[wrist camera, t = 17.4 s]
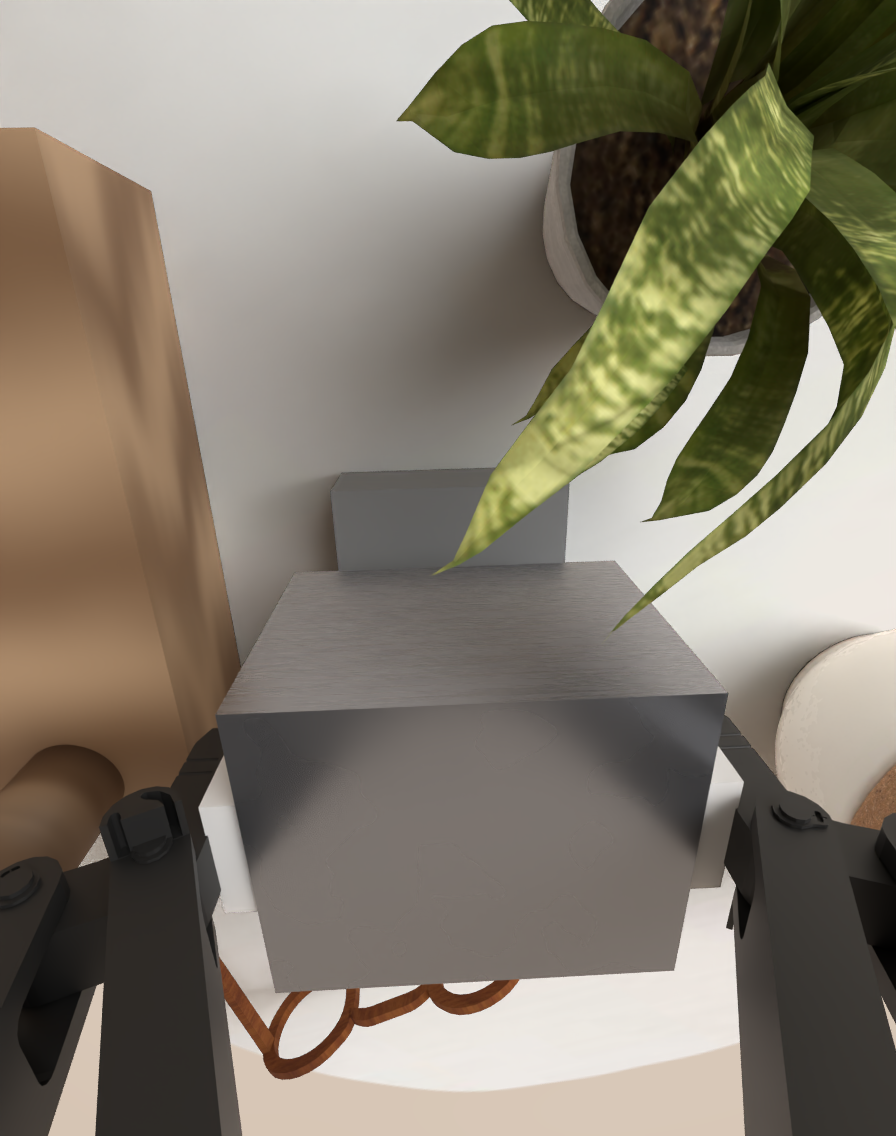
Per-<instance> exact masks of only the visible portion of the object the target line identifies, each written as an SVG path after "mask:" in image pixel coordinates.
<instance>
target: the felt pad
mask: <svg viewBox="0 0 896 1136" xmlns="http://www.w3.org/2000/svg"><path fill="white" fill-rule="evenodd" d="M494 470H495V468H476V469H445V470H413V471H382V472H350V473H341V475H340V477H339V478H338V480H337V481H336V483H335V485H334V486H333V488H332V489H331V491H330V494H331V504H332V513H333V523H334V532H335V542H336V552H337V561H338V571H346V570H374V569H401V568H429V567H444V566H446V565H447V564H449V563H450V562H452V561H453V560H454V558H455V556H456V553H457V551H458V549H459V547H460V545H461V543H462V541H463V539H464V537H465V534H466V532H467V530H468V527H469V525H470V523H471V520H472V518H473V515H474V513H475V511H476V508H477V506H478V503H479V501H480V499H481V496H482V494H483V492H484V489H485V487H486V484H487V482H488V480H489V477H490V475H491V474H492V472H493V471H494ZM568 498H569V483H568V484H567V485H565V486H564V487H563V488H562V489H560V490H559V491H558V492H556V493H555V494H554V495H552V496H551V497H550V498H548V499H547V500H546V501H545V502H543V503H542V504H541V505H539V506H538V507H537V508H535V509H534V510H533V511H531V512H530V513H529V514H528V515H526V516H525V517H524V518H523V519H521V520H520V521H519V522H518V523H516V524H515V525H514V526H513V527H511V528H510V529H509V530H508V531H507V532H505V533H504V534H503V535H502V536H500V537H499V538H498V539H497V540H495V541H494V542H493V543H492V544H490V545H489V546H488V547H487V548H485V549H484V550H483V551H482V552H480V553H478V554H477V555H475V556H473V557H472V558H470V559H468V560H466V561H465V562H463V563H461V564H459V565H457V566H484V565H511V564H539V563H565V550H566V532H567V515H568ZM455 567H456V566H455Z"/></svg>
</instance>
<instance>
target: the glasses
mask: <svg viewBox="0 0 896 1136" xmlns="http://www.w3.org/2000/svg"><path fill="white" fill-rule="evenodd" d="M219 961H220V969H221V976H222V984H223V992H224V998H225V1000H226V1001H227V1003H228V1004H229V1006H230V1007H231V1009H232V1010H233V1011H234V1013H235V1014H236V1016H237V1017H238V1019H239V1020H240V1022H241V1023H242V1024H243V1026H244V1027H245V1029H246V1030H247V1032H248V1033H249V1035H250V1036H251V1038H252V1039H253V1040H254V1042H255V1043H256V1045H257V1046H258V1048H259V1049H260V1051H261V1052H262V1054H263V1060H264V1063H265V1066H266V1068H267V1069H268V1071H269V1072H270V1073H271V1074H272V1075H273V1076H274V1077H275V1078H278V1079H282V1080H283V1079H293V1078H297V1077H300V1076H302V1075H304V1074H306V1073H309V1072H310V1071H312V1070H314V1069H315V1068H317V1067H318V1066H320V1065H321V1064H322V1063H323V1062H325V1061H326V1060H327V1059H328V1058H329V1057H330V1056H331V1055H332V1054H333V1053H334V1052H335V1051H336V1050H337V1049H338V1048H339V1047H340V1046H341V1044H342V1043H343V1042H344V1041H345V1040H346V1038H347V1037H348V1036H349V1034H350V1033H351V1031H352V1028H353V1026H354V1024H356V1025H359V1026H362V1027H369V1026H373V1025H376V1024H379V1023H382V1022H384V1021H387V1020H390V1019H393V1018H395V1017H398V1016H401V1015H403V1014H406V1013H409V1012H411V1011H413V1010H415V1009H416V1008H418V1007H419V1006H420V1005H422V1004H423V1003H424V1002H425V1001H426V1000H427V999H428V998H429V997H430V998H431V999H432V1001H433V1003H434V1004H435V1005H436V1006H437V1007H439V1008H441V1009H442V1010H444V1011H446V1012H448V1013H451V1014H456V1015H465V1014H472V1013H476V1012H479V1011H482V1010H484V1009H486V1008H488V1007H491V1006H492V1005H494V1004H495V1003H497V1002H498V1001H500V1000H501V999H503V998H504V997H505V996H506V995H507V994H508V993H509V992H510V991H511V990H512V989H513V988H514V986H515V985H516V984H517V983H518V981H519V979H514V980H496V981H494V982H493V983H491V984H490V985H488V986H487V987H485V988H483V989H481V990H479V991H477V992H474V993H470V994H463V995H458V994H453V993H451V992H449V991H447V990H446V989H445V988H444V986H443V984H425V985H420V986H419V987H417V988H416V989H414V990H412V991H410V992H408V993H406V994H403V995H400V996H398V997H395V998H392V999H390V1000H387V1001H384V1002H382V1003H379V1004H376V1005H374V1006H371V1007H367V1008H358V1007H359V995H360V988H354V989H346V1000H345V1006H344V1009H343V1012H342V1015H341V1017H340V1019H339V1021H338V1023H337V1025H336V1026H335V1028H334V1029H333V1030H332V1032H331V1033H330V1034H329V1035H328V1036H327V1037H326V1038H325V1040H324V1041H323V1042H322V1043H320V1044H319V1045H318V1046H317V1047H316V1048H314V1049H313V1050H311V1051H310V1052H308V1053H307V1054H304V1055H302V1056H300V1057H297V1058H293V1059H283V1058H280V1057H279V1053H278V1047H279V1040H280V1037H281V1033H282V1030H283V1028H284V1025H285V1023H286V1021H287V1020H288V1018H289V1016H290V1014H291V1013H292V1011H293V1010H294V1008H295V1007H296V1006H297V1005H298V1003H299V1002H300V1001H301V1000H302V999H303V998H304V997H305V996H307V995H308V994H309V993H310V992H312V991H300V992H291V993H290V994H289V995H288V997H287V998H286V999H285V1000H284V1002H283V1003H282V1005H281V1006H280V1008H279V1009H278V1011H277V1013H276V1014H275V1016H274V1018H273V1020H272V1022H271V1025H270V1027H269V1029H268V1028H267V1027H266V1025H265V1024H264V1022H263V1021H262V1019H261V1018H260V1016H259V1015H258V1013H257V1012H256V1010H255V1009H254V1007H253V1006H252V1004H251V1003H250V1002H249V1000H248V999H247V997H246V996H245V994H244V993H243V991H242V990H241V988H240V987H239V985H238V984H237V982H236V981H235V979H234V978H233V976H232V975H231V974H230V972H229V971H228V969H227V968H226V966H225V965H224V963H223V962H222V960H221V959H220V957H219Z"/></svg>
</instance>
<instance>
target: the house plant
mask: <svg viewBox="0 0 896 1136" xmlns="http://www.w3.org/2000/svg"><path fill="white" fill-rule="evenodd" d="M510 2H511V3H512V4H513V5H514V6H515V7H516V8H517V9H518V10H519V11H520V13H521V14H522V15H523V16H524V17H525V18H526V19H527V20H528V21H523V22H516V23H508V24H501V25H493V26H491V27H489V28H488V29H486V30H484V31H483V32H481V33H480V34H478V35H477V36H475V37H473V38H472V39H470V40H469V41H467V42H466V43H464V44H462V45H461V46H460V47H459V48H458V49H457V50H456V52H455V53H454V54H453V55H452V56H451V57H450V58H449V59H448V60H447V61H446V62H445V63H444V64H443V65H442V66H441V67H440V68H439V69H438V71H437V72H436V73H435V74H434V75H433V76H432V78H431V79H430V80H429V81H428V83H427V84H426V85H425V86H424V88H423V89H422V90H421V92H420V93H419V94H418V95H417V97H416V98H415V99H414V101H413V102H412V103H411V104H410V106H409V107H408V108H407V109H406V110H405V111H404V113H403V114H402V115H401V116H400V117H399V118H398V120H397V121H413V122H414V123H416V124H417V125H418V126H420V127H421V128H422V129H424V130H425V131H426V132H428V133H429V134H431V135H432V136H433V137H435V138H436V139H437V140H439V141H440V142H441V143H443V144H444V145H445V146H447V147H448V148H450V149H451V150H452V151H454V152H456V153H462V154H467V155H472V156H477V157H482V158H487V159H497V158H522V157H527V156H532V155H537V154H541V153H546V152H551V151H554V154H553V159H552V165H551V171H550V176H549V182H548V187H547V193H546V199H545V204H544V215H543V240H544V245H545V251H546V256H547V261H548V263H549V265H550V267H551V269H552V272H553V274H554V276H555V278H556V280H557V282H558V284H559V285H560V286H561V287H562V288H563V290H564V291H565V292H566V293H567V294H568V296H569V297H570V298H571V299H572V300H573V301H575V302H576V303H578V304H579V305H581V306H582V307H584V308H585V309H587V310H588V311H590V312H591V313H593V314H595V315H597V318H596V320H595V322H594V324H593V325H592V326H591V327H590V328H589V329H588V330H587V331H586V333H585V334H584V335H583V336H582V337H581V338H580V339H579V340H578V341H577V342H576V343H575V344H574V345H573V346H572V347H571V349H570V350H569V351H568V352H567V353H566V354H565V355H564V356H563V357H562V359H561V360H560V361H559V362H558V363H557V364H556V365H555V366H554V367H553V369H552V370H551V372H550V374H549V376H548V378H547V380H546V381H545V383H544V385H543V387H542V389H541V391H540V393H539V394H538V396H537V398H536V400H535V402H534V404H533V405H532V407H531V408H530V410H529V412H528V413H527V415H526V416H525V417H523V418H522V419H520V420H519V421H517V422H516V423H519V422H521V421H524V420H526V419H529V418H531V417H533V416H534V415H535V416H534V417H533V419H532V420H531V421H530V423H529V424H528V425H527V427H526V428H525V429H524V431H523V432H522V433H521V435H520V436H519V437H518V439H517V440H516V441H515V443H514V444H513V445H512V447H511V448H510V450H509V451H508V452H507V454H506V455H505V456H504V458H503V459H502V460H501V462H500V463H499V464H498V466H497V467H496V468H495V470H494V471H493V472H492V474H491V475H490V477H489V480H488V482H487V484H486V487H485V489H484V492H483V494H482V496H481V499H480V501H479V503H478V506H477V508H476V511H475V513H474V515H473V518H472V520H471V523H470V525H469V527H468V530H467V532H466V534H465V537H464V539H463V541H462V543H461V545H460V547H459V549H458V551H457V553H456V556H455V558H454V560H453V561H452V562H450V563H449V564H447V565H446V566H444V567H443V568H441V569H440V570H439V571H437V572H436V573H434V574H433V575H435V574H437V573H440V572H442V571H445V570H447V569H450V568H452V567H455V566H457V565H459V564H461V563H463V562H465V561H466V560H468V559H470V558H472V557H473V556H475V555H477V554H478V553H480V552H482V551H483V550H484V549H485V548H487V547H488V546H489V545H490V544H492V543H493V542H494V541H495V540H497V539H498V538H499V537H500V536H502V535H503V534H504V533H505V532H507V531H508V530H509V529H510V528H511V527H513V526H514V525H515V524H516V523H518V522H519V521H520V520H521V519H523V518H524V517H525V516H526V515H528V514H529V513H530V512H531V511H533V510H534V509H535V508H537V507H538V506H539V505H541V504H542V503H543V502H545V501H546V500H547V499H548V498H550V497H551V496H552V495H554V494H555V493H556V492H558V491H559V490H560V489H562V488H563V487H564V486H565V485H567V484H568V483H569V482H571V481H572V480H573V479H575V478H576V477H577V476H578V475H580V474H581V473H583V472H584V471H586V470H588V469H589V468H591V467H593V466H594V465H596V464H598V463H599V462H601V461H602V460H603V459H604V458H606V457H607V456H608V455H609V454H614V453H619V452H623V451H628V450H633V449H635V448H637V447H638V446H639V445H641V444H642V443H643V442H645V441H646V440H647V439H649V438H650V437H651V436H653V435H654V434H655V433H657V432H658V431H659V430H661V429H662V428H663V427H664V426H665V425H666V424H667V423H668V421H669V420H670V419H671V418H672V417H673V415H674V414H675V413H676V412H677V411H678V409H679V408H680V407H681V406H682V405H683V403H684V402H685V401H686V399H687V397H688V395H689V393H690V391H691V389H692V387H693V385H694V383H695V381H696V379H697V377H698V375H699V373H700V371H701V369H702V366H703V362H704V359H705V356H733V355H737V354H740V353H741V355H740V357H739V360H738V362H737V364H736V367H735V369H734V371H733V373H732V376H731V378H730V379H729V381H728V382H727V384H726V385H725V387H724V389H723V390H722V392H721V393H720V395H719V396H718V398H717V399H716V401H715V402H714V404H713V405H712V407H711V408H710V410H709V411H708V413H707V414H706V416H705V417H704V418H703V420H702V421H701V423H700V424H699V426H698V427H697V429H696V430H695V431H694V433H693V434H692V436H691V437H690V439H689V441H688V442H687V444H686V445H685V447H684V448H683V450H682V451H681V453H680V454H679V456H678V457H677V459H676V461H675V464H674V466H673V468H672V470H671V473H670V475H669V477H668V479H667V483H666V486H665V490H664V494H663V497H662V501H661V503H660V505H659V506H658V508H657V510H656V511H655V513H654V515H653V517H652V518H650V519H648V520H645V521H642V522H647V521H656V520H663V519H668V518H673V517H679V516H684V515H689V514H694V513H700V512H705V511H709V510H711V509H713V508H714V507H716V506H718V505H719V504H721V503H723V502H725V501H726V500H728V499H730V498H731V497H733V496H735V495H736V494H737V493H739V492H740V491H741V490H742V489H743V488H744V487H745V486H746V485H747V484H748V483H749V482H750V481H752V480H753V479H754V478H755V477H756V476H757V475H758V473H759V472H760V470H761V469H762V467H763V466H764V464H765V463H766V461H767V460H768V458H769V456H770V455H771V453H772V452H773V450H774V447H775V445H776V443H777V440H778V438H779V436H780V433H781V431H782V428H783V426H784V423H785V421H786V418H787V415H788V413H789V410H790V407H791V405H792V402H793V399H794V397H795V394H796V391H797V388H798V384H799V381H800V378H801V374H802V371H803V368H804V364H805V361H806V357H807V354H808V343H809V324H810V323H812V322H814V321H816V320H817V319H819V318H820V317H821V316H823V318H824V319H825V321H826V323H827V325H828V327H829V329H830V331H831V334H832V336H833V339H834V341H835V344H836V346H837V349H838V351H839V354H840V356H841V359H842V361H843V364H844V368H843V374H842V380H841V385H840V391H839V397H838V403H837V407H836V409H835V411H834V413H833V416H832V418H831V420H830V422H829V424H828V425H827V426H826V427H825V428H824V429H823V430H822V431H821V432H820V433H819V434H818V435H817V436H816V437H815V438H814V439H813V440H812V441H810V442H809V443H808V444H807V445H806V446H805V447H804V448H803V449H802V450H801V451H800V452H799V453H798V454H797V455H796V456H795V457H794V458H793V459H792V460H791V461H790V462H789V463H788V464H787V465H786V466H785V467H784V468H783V469H782V470H781V471H780V472H779V473H778V474H777V475H776V476H775V477H774V478H773V479H772V480H770V481H769V482H768V483H767V484H766V485H765V486H764V487H763V488H761V489H760V490H759V491H758V492H757V493H756V494H755V495H753V496H752V497H751V498H750V499H749V500H748V501H747V502H745V503H744V504H743V505H742V506H741V507H740V508H739V509H738V510H736V511H735V512H734V513H733V514H732V515H731V516H730V517H728V518H727V519H726V520H725V521H724V522H723V523H721V524H720V525H719V526H718V527H717V528H716V529H715V530H713V531H712V532H711V533H710V534H709V535H708V536H707V537H705V538H704V539H703V540H702V541H701V542H700V543H698V544H697V545H696V546H695V547H694V548H693V549H692V550H690V551H689V552H688V553H687V554H686V555H685V556H684V557H683V558H682V559H681V560H680V561H679V562H678V563H677V564H676V565H675V566H674V567H673V568H672V569H671V570H670V571H669V572H667V573H666V574H665V575H664V576H663V577H662V578H661V579H660V580H659V581H658V582H657V583H656V584H655V585H654V586H653V587H652V588H651V589H650V590H649V591H648V592H647V593H646V594H645V595H644V596H643V597H642V598H641V599H640V600H639V601H638V602H637V603H636V604H635V606H634V607H633V608H632V609H631V610H630V611H629V612H628V613H627V614H626V615H625V616H624V617H623V618H622V619H621V621H620V622H619V623H618V624H617V625H616V626H615V628H614V629H613V630H612V631H615V630H616V629H618V628H619V627H620V626H621V625H623V624H624V623H625V622H626V621H628V620H629V619H630V618H631V617H633V616H634V615H635V614H637V613H638V612H639V611H641V610H642V609H643V608H645V607H646V606H647V605H649V604H650V603H651V602H652V601H654V600H655V599H656V598H658V597H659V596H660V595H662V594H663V593H664V592H666V591H667V590H668V589H669V588H671V587H672V586H673V585H674V584H676V583H677V582H678V581H680V580H681V579H682V578H683V577H685V576H686V575H687V574H688V573H690V572H691V571H692V570H694V569H695V568H696V567H697V566H699V565H700V564H702V563H704V562H705V561H707V560H708V559H710V558H712V557H713V556H715V555H716V554H718V553H720V552H721V551H723V550H724V549H726V548H728V547H729V546H731V545H732V544H734V543H736V542H737V541H739V540H740V539H742V538H744V537H745V536H747V535H748V534H749V533H750V532H751V531H753V530H754V529H755V528H756V527H758V526H759V525H760V524H761V523H762V522H764V521H765V520H766V519H767V518H769V517H770V516H771V515H772V514H773V513H775V512H776V511H777V510H778V509H780V508H781V507H782V506H783V505H784V504H785V503H786V502H787V501H788V500H789V499H790V498H791V497H792V496H793V495H794V494H795V493H796V492H797V491H798V490H799V489H800V488H801V487H802V486H803V485H804V484H806V483H807V482H808V481H809V480H810V479H811V478H812V477H813V476H814V475H815V474H816V473H817V472H818V471H819V470H820V469H821V468H822V467H823V466H824V465H825V464H826V463H827V462H828V460H829V459H830V458H831V456H832V455H833V454H834V452H835V451H836V450H837V448H838V447H839V446H840V444H841V443H842V442H843V441H844V439H845V438H846V437H847V435H848V434H849V433H850V431H851V430H852V429H853V427H854V426H855V425H856V423H857V422H858V421H859V419H860V418H861V417H862V415H863V413H864V411H865V408H866V406H867V404H868V402H869V400H870V398H871V396H872V394H873V392H874V390H875V388H876V385H877V383H878V381H879V379H880V377H881V375H882V373H883V371H884V369H885V366H886V362H887V358H888V354H889V350H890V345H891V341H892V337H893V333H894V329H896V0H610V1H609V2H608V3H607V4H606V6H605V7H604V9H603V11H602V13H601V12H600V11H599V10H598V9H597V8H596V7H595V5H594V4H593V3H592V2H591V1H590V0H510ZM516 423H514V424H516ZM514 424H512V425H514ZM431 576H432V575H431ZM612 631H611V633H612ZM611 633H610V634H611ZM610 634H609V635H610ZM609 635H608V636H609ZM607 638H608V637H607ZM607 638H606V639H607ZM606 639H605V640H606ZM602 644H603V643H602Z"/></svg>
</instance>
